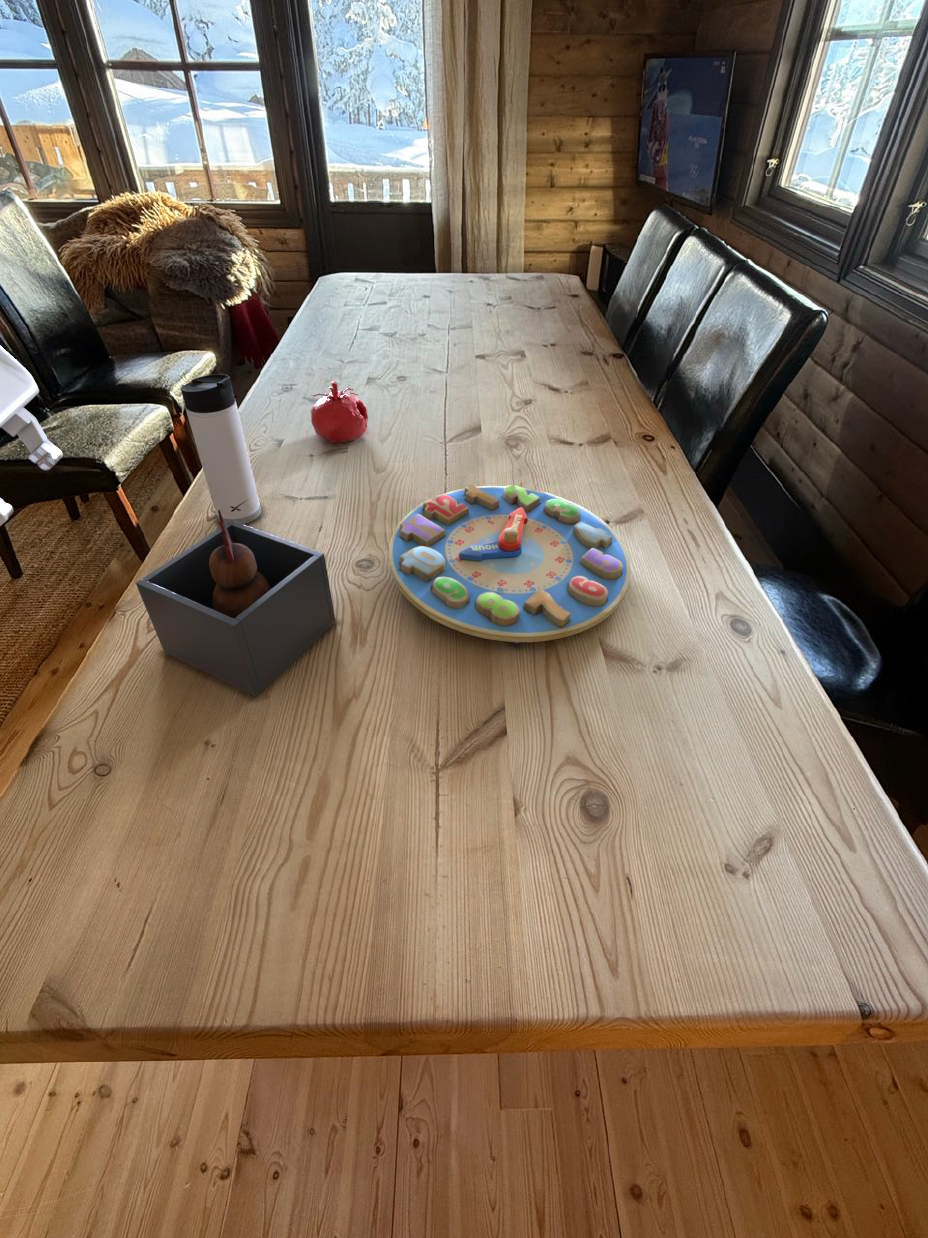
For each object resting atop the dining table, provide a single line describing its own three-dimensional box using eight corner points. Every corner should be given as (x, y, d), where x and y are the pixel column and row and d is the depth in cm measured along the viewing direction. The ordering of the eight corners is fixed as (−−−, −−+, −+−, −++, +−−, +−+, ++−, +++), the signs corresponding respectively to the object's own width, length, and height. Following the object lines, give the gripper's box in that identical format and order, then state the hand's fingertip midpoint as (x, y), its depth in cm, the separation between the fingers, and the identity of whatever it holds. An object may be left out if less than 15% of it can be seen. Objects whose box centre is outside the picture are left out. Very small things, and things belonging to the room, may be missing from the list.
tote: (255, 697, 69) (233, 625, 62) (164, 653, 74) (135, 582, 67) (336, 622, 78) (324, 553, 71) (249, 587, 83) (231, 519, 76)
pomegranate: (325, 453, 110) (317, 399, 104) (304, 430, 116) (296, 378, 110) (379, 440, 114) (374, 387, 108) (356, 418, 120) (350, 367, 114)
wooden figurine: (235, 611, 78) (202, 501, 68) (284, 613, 77) (258, 502, 68) (217, 651, 72) (178, 538, 63) (269, 653, 72) (238, 539, 62)
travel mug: (248, 529, 93) (212, 390, 79) (208, 521, 94) (167, 383, 81) (271, 507, 97) (241, 372, 84) (233, 500, 99) (198, 366, 86)
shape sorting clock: (527, 693, 69) (531, 652, 65) (341, 575, 85) (335, 536, 81) (673, 565, 86) (682, 527, 82) (495, 486, 102) (497, 450, 98)
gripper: (-236, 379, 38) (-6, 541, 46) (-48, 285, 53) (100, 418, 61) (-286, 439, 40) (-58, 584, 48) (-91, 331, 56) (58, 454, 63)
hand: (32, 490), depth 55 cm, fingers open, 8 cm apart
